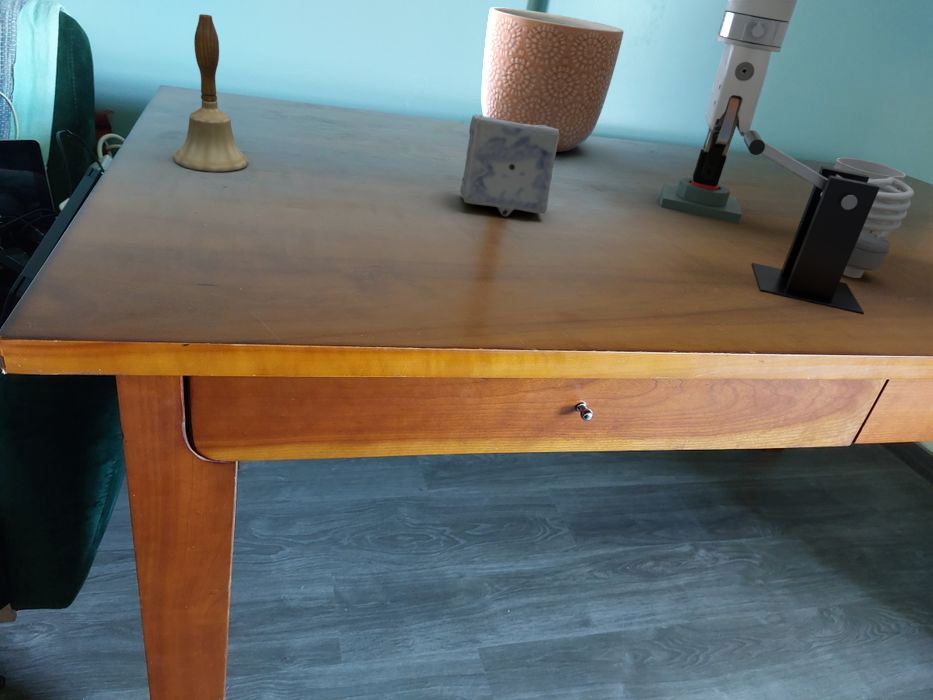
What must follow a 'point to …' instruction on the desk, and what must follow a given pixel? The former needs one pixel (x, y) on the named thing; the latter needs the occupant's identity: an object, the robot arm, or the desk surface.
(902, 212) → the light bulb
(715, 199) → the button box
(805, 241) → the bracket
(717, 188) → the button
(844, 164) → the cup
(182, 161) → the hand bell
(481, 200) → the incense holder
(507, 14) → the planter
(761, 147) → the lever
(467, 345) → the desk surface
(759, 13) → the robot arm
